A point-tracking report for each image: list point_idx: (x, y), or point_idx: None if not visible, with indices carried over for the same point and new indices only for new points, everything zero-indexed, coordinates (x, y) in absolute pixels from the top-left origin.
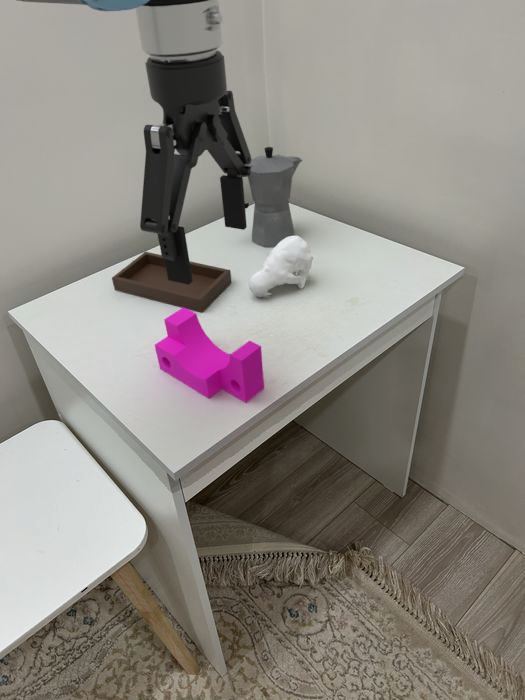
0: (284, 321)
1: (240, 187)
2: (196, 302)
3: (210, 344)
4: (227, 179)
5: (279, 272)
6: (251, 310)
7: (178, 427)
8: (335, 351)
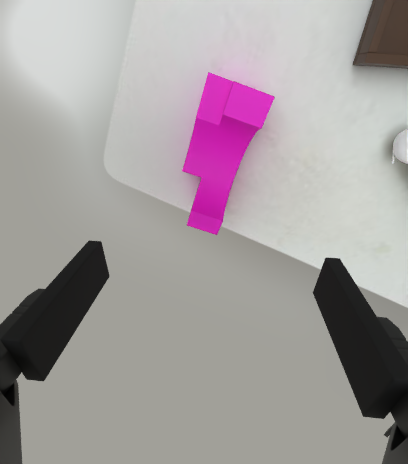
0: (336, 191)
1: (353, 390)
2: (364, 52)
3: (242, 146)
4: (379, 389)
5: None
6: (361, 141)
7: (140, 151)
8: (287, 250)
